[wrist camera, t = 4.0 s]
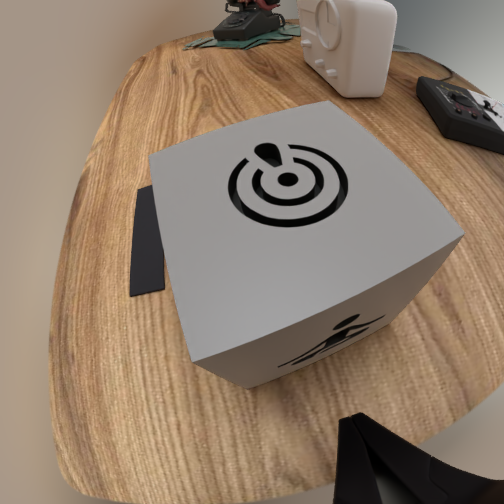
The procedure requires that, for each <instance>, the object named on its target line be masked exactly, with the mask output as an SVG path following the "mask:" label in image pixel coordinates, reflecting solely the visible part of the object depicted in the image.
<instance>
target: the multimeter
mask: <svg viewBox="0 0 504 504" xmlns="http://www.w3.org/2000/svg"><path fill="white" fill-rule="evenodd" d="M416 94H417V95H418V97H419V98H420V99H421V101H422V102H423V104H424V105H425V107H426V108H427V110H428V111H429V113H430V114H431V116H432V117H433V119H434V121H435V122H436V124H437V125H438V127H439V129H440V130H441V132H442V134H443V135H444V136H445V137H446V138H449V139H453V140H457V141H461V142H465V143H468V144H472V145H475V146H479V147H482V148H485V149H488V150H492V151H495V152H498V153H501V154H503V155H504V104H503V103H500V102H498V101H496V100H493V99H491V98H489V97H486V96H484V95H481V94H479V93H476V92H473V91H470V90H468V89H464V88H461V87H458V86H455V85H452V84H449V83H445V82H442V81H438V80H435V79H431V78H427V77H423V76H421V77H419V78H418V82H417V87H416Z"/></svg>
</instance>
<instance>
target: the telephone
mask: <svg viewBox="0 0 504 504" xmlns="http://www.w3.org/2000/svg"><path fill="white" fill-rule="evenodd" d="M227 2H228V3H226V6H227V7H226V9H225V11H226V12H227V11H228V12H230V13H231V12H232V14H231V15H230V16H228V17H227V18H226V19H225V20H223V21H222V22H221V23H220V24H219V25H218V26H217V27H216V28H215V29H214V30H213V34H214V37H211V38H209V37H208V38H205V39H204V40H202V38H200V39H198V40H196V41H193V42H191V43H189V44H187V45H185V46H190V45H191V44H192V45H191V46H195V45H197V44H200V43H202V42H205V41H207V40H210V39H213V40H212V41H210V42H207V43H205V44H203V45H201V46H198V47H203V46H214V45H218V46H217V47H237V46H238V45H239V48H244V47H246V46H247V45H249V44H251V43H253V42H254V41H256V40H258V39H278V40H281V39H290V38H292V37H291V36H285V35H281V34H288V35H297V36H300V32H301V28H300V25H286V24H285V23H288V22H285V19H284V17H283V16H282V15H281V14H278V13H274V14H273V13H272V11H271V10H272V9H273V8H275V7H279V6H280V5H277V3H279V2H280V0H227ZM228 4H229V5H230V6H234V7H239V12H236V11H229V10H228V9H227V8H228ZM254 8H256V9H254ZM275 15H279V16H280V15H281V16H280V18H281V19H282V23H280V19H279V16H275ZM289 23H290V24H292V23H291V22H289ZM295 27H298V28H295ZM291 28H292V29H291ZM279 32H280V33H281V34H278V33H279ZM202 37H204V36H202ZM200 40H202V41H200ZM268 41H269V40H260V41H258V42H256V43H254V44H253V45H251V46H249V47H248V48H250V47H253V46H255V45H258V44H260V43H264V42H268ZM186 48H189V47H186ZM186 48H183V49H186ZM248 48H246V49H248ZM244 50H245V49H244Z"/></svg>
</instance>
